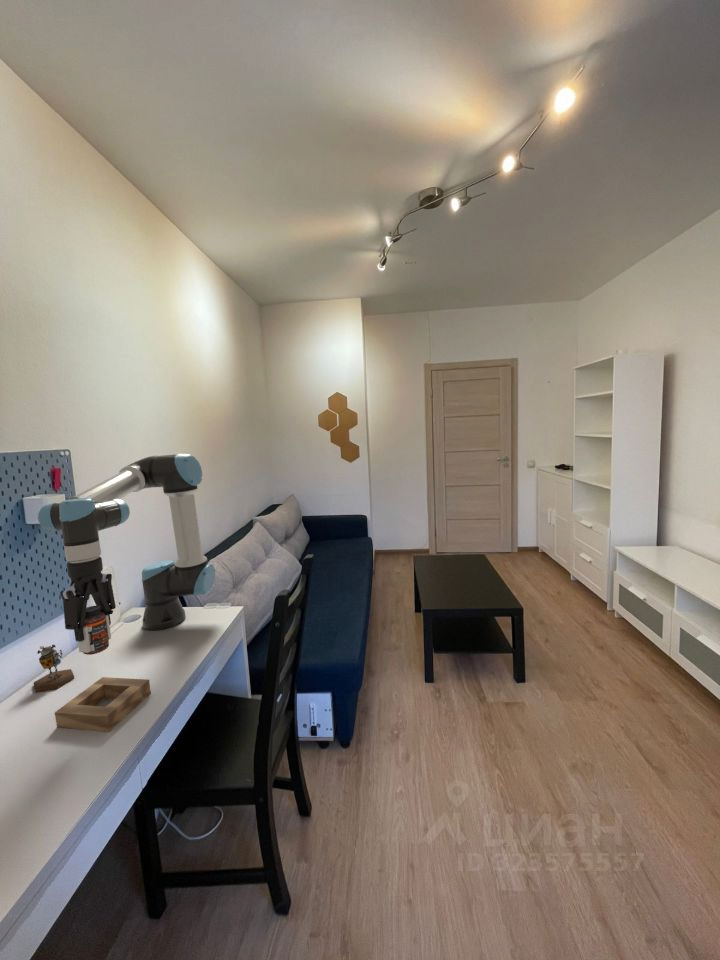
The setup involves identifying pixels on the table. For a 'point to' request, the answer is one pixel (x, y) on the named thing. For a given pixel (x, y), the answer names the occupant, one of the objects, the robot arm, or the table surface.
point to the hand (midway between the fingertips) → (95, 644)
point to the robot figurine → (53, 678)
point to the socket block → (100, 718)
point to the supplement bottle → (96, 630)
